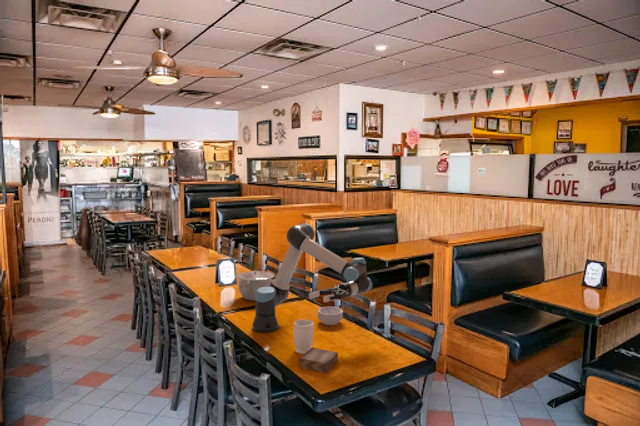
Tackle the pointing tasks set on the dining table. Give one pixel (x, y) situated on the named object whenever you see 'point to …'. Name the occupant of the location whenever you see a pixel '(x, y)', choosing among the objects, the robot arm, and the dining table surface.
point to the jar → (303, 335)
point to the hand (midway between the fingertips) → (316, 298)
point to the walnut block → (318, 360)
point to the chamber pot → (253, 283)
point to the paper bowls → (330, 315)
